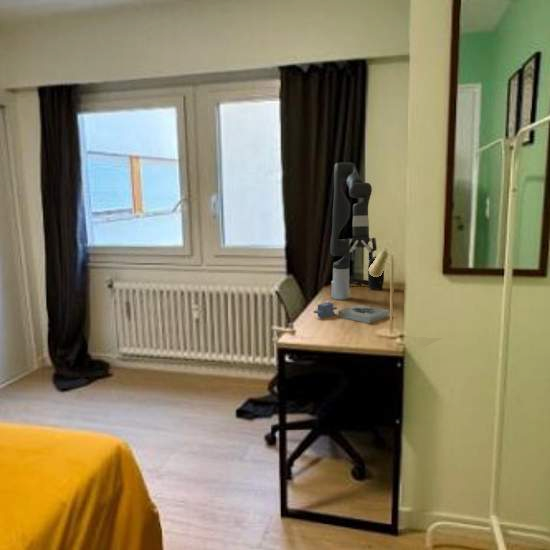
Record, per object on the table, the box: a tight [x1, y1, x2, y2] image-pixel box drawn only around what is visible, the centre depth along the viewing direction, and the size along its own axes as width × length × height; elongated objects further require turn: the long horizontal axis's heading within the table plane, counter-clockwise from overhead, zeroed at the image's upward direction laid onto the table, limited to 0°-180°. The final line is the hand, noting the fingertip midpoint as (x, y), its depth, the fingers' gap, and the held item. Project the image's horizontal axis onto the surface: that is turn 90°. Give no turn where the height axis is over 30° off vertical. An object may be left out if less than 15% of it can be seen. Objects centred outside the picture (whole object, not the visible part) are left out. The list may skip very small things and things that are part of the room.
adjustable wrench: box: [349, 276, 369, 287], centre depth 313 cm, size 8×3×25 cm
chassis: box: [337, 304, 390, 324], centre depth 244 cm, size 18×17×3 cm
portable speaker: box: [367, 256, 385, 291], centre depth 302 cm, size 9×9×20 cm
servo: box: [313, 300, 338, 319], centre depth 246 cm, size 4×13×7 cm, turn 135°
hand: (361, 260), depth 236 cm, fingers open, 8 cm apart
